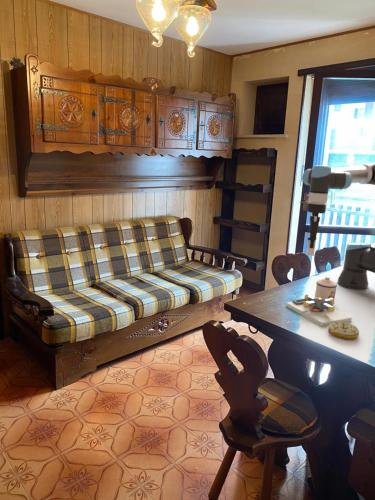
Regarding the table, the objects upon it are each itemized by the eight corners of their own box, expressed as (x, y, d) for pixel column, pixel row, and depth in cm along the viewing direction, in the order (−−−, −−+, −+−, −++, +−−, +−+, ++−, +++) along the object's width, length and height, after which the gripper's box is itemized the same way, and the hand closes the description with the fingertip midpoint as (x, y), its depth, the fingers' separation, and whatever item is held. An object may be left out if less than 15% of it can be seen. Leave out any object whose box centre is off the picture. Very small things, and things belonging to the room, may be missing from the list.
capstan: (318, 300, 177) (320, 290, 175) (347, 314, 162) (349, 303, 161) (290, 304, 170) (291, 293, 168) (317, 319, 155) (318, 308, 154)
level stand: (313, 301, 179) (314, 295, 179) (351, 321, 160) (352, 314, 159) (285, 306, 172) (286, 299, 172) (320, 326, 153) (322, 319, 152)
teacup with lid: (330, 306, 175) (334, 282, 172) (311, 301, 180) (314, 277, 177) (338, 299, 184) (342, 276, 181) (320, 294, 190) (323, 271, 187)
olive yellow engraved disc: (327, 326, 154) (329, 318, 153) (356, 331, 151) (358, 323, 150) (328, 337, 145) (329, 328, 144) (359, 343, 141) (360, 334, 140)
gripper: (308, 199, 176) (302, 244, 181) (307, 205, 152) (300, 257, 158) (325, 200, 173) (318, 246, 179) (327, 207, 150) (320, 259, 155)
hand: (310, 251), depth 168 cm, fingers open, 13 cm apart
